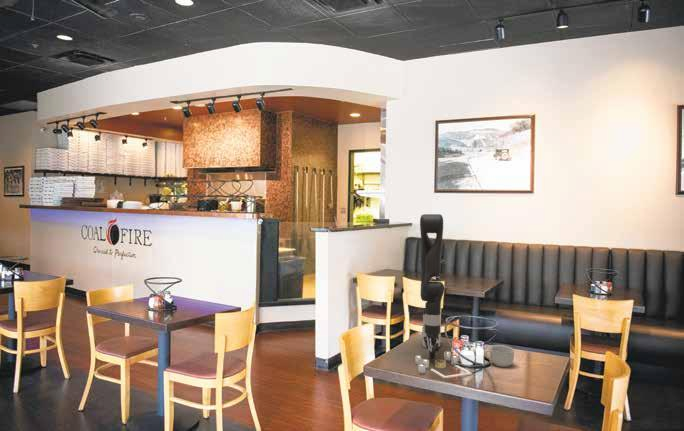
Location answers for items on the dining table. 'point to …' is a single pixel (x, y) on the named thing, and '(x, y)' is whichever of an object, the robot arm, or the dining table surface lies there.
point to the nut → (440, 363)
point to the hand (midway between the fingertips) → (432, 359)
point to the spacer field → (424, 363)
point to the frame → (453, 375)
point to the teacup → (500, 355)
